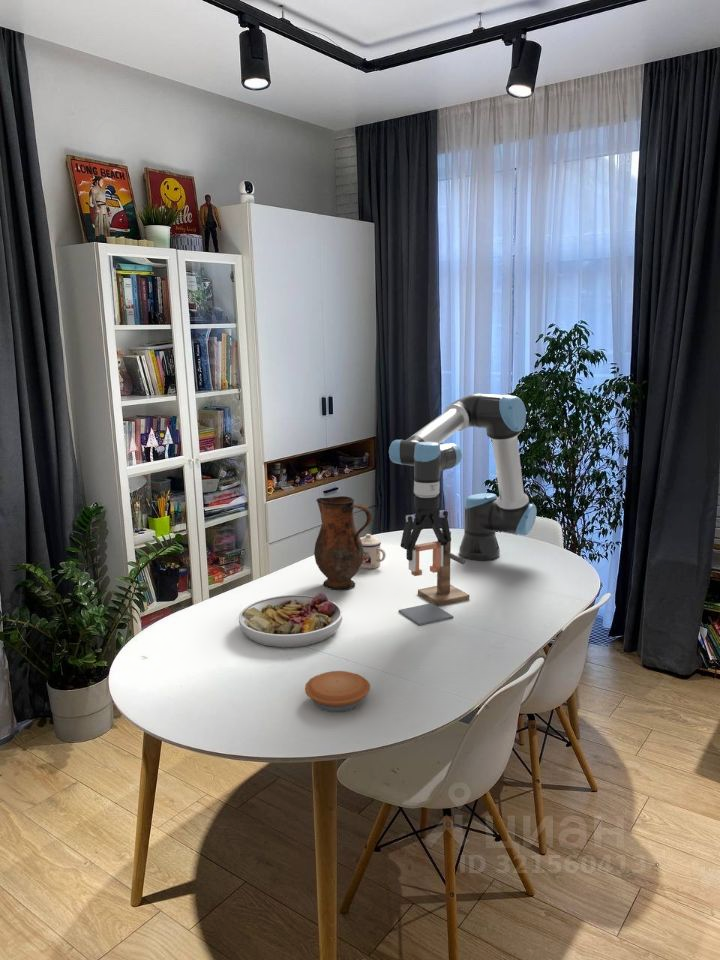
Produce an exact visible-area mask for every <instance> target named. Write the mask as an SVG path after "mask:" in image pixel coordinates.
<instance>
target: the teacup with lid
mask: <svg viewBox="0 0 720 960" xmlns="http://www.w3.org/2000/svg"><path fill="white" fill-rule="evenodd" d="M360 539H361V541H362V545H363V549H364V556H363V562H362V564H361V566H360V568H361V569H376V568H378V567H380V566H381V562H383V561H384V560H385V559H386V557H387V556H386V552H385V550H384V549H383V548H381V544H382V542H381V540H380V538H377V537H374V536H372V533H371V534H370V533H366V534H365V536H363V537H360ZM381 554H382V557H381ZM360 568H359V569H360Z"/></svg>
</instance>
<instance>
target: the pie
mask: <svg viewBox="0 0 720 960" xmlns="http://www.w3.org/2000/svg"><path fill="white" fill-rule="evenodd" d="M370 689H371V684H370V682H369V681H368V680H367V679H366V678H365V677H364V676H362V675H361V674H358V673H355V672H351V671H344V670H333V671H327V672H323V673H320V674H317V675H314V676H312V677H311V678H310V679H309V680H308V681H307V682H306V684H305V686H304V691H305V694H306V695H307V696H308V697H309V698H310V699H311V701H312V702H313V704H314V705H315V706H316V707H317V708H318V709H321V710H322V711H326V712H328V713H329V712H330V713H345V712H349V711H351V710H353V709H356V708H357V707H358V706H360V704H361V703H362V701H363V700H364V698H365V697H366V696H367V694H368V693H369V691H370Z"/></svg>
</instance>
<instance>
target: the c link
mask: <svg viewBox="0 0 720 960" xmlns="http://www.w3.org/2000/svg"><path fill="white" fill-rule="evenodd" d="M413 549H414V550H416V565H415V572H413V571H411V570H410V571H411V572H410V574H411V576H414V577H417V576H419V577H420V576H422V575H423V570H422V569H421V568H420V552H423V551H424V552H425V551H428V550H432V565H430V566H429V572H431V573H437V572H440V559H441V543H440V542H438V540H436V541H430V542H429V541H428V542H425V543H424V542H423V543H418V544H415V546H414V548H413Z"/></svg>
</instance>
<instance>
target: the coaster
mask: <svg viewBox="0 0 720 960" xmlns="http://www.w3.org/2000/svg"><path fill="white" fill-rule="evenodd" d="M398 612H399V613H400V614H401V615H403V616H404V617H406V618H407V619H409V620H410V621H412V622H413V623H414V624H417V626H423V625H428V624H432V623H436V622H441V621H446V620H450V619H453V618H454V615H453V614H451V613H450V612H448V611H446V610H444V609H443V608H441V607H440V606H437V605H435V604H433V603H432V602H430V603H425V604H420V605H415V606H412V607H406V608H401V609H398Z"/></svg>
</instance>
